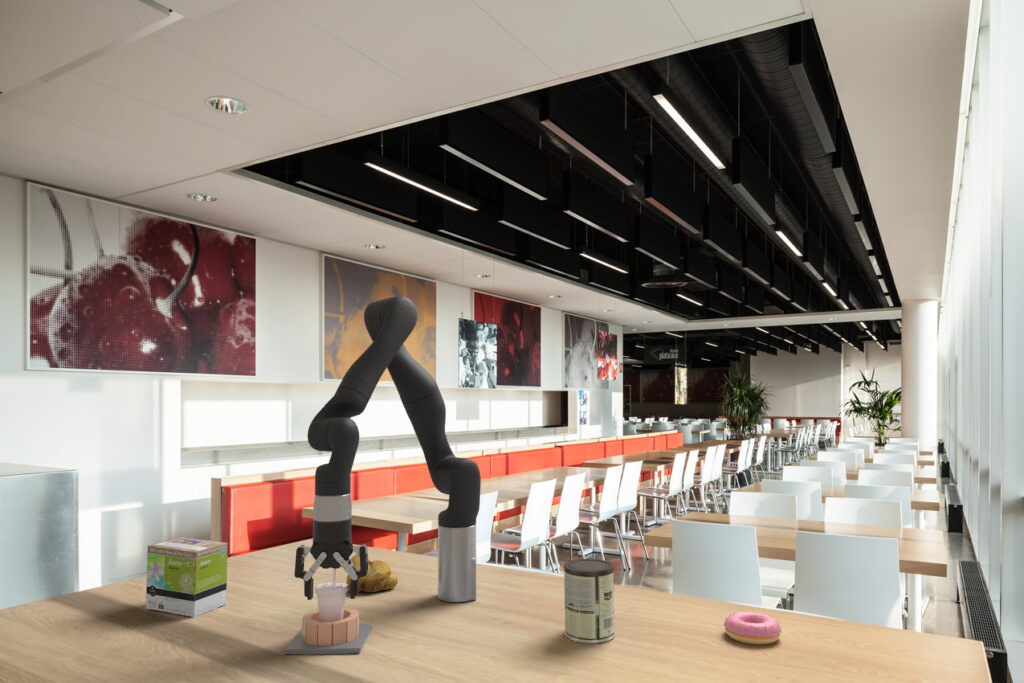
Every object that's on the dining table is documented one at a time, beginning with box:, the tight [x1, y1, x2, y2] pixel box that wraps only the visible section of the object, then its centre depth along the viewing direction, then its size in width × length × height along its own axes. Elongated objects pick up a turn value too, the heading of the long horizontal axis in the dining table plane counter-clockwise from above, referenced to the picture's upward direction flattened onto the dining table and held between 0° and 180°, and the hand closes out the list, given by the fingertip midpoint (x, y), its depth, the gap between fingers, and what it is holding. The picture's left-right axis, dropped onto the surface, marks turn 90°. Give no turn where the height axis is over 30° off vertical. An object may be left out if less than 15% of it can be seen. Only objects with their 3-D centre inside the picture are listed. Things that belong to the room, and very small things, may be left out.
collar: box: [285, 606, 373, 656], centre depth 140 cm, size 14×14×5 cm
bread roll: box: [345, 554, 399, 593], centre depth 176 cm, size 13×10×8 cm
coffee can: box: [562, 558, 616, 644], centre depth 143 cm, size 10×10×14 cm
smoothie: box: [314, 568, 349, 622], centre depth 141 cm, size 6×6×14 cm
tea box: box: [145, 536, 229, 618], centre depth 162 cm, size 15×10×15 cm
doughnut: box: [723, 611, 782, 646], centre depth 142 cm, size 11×11×4 cm
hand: (331, 598), depth 141 cm, fingers open, 8 cm apart
